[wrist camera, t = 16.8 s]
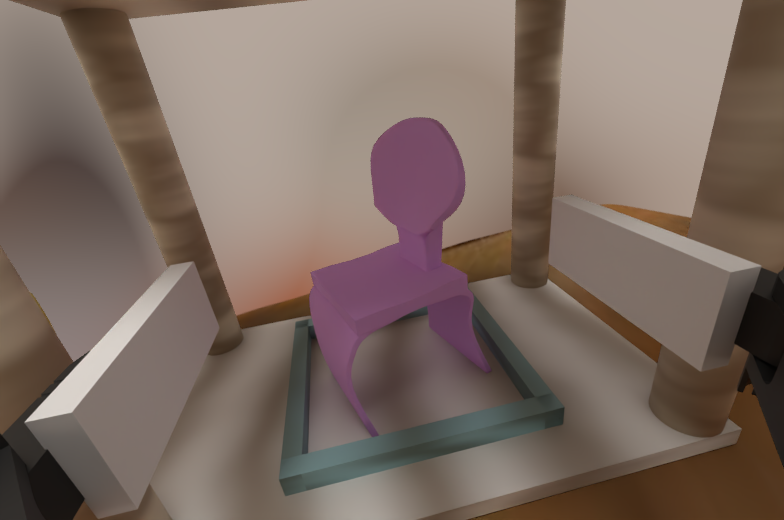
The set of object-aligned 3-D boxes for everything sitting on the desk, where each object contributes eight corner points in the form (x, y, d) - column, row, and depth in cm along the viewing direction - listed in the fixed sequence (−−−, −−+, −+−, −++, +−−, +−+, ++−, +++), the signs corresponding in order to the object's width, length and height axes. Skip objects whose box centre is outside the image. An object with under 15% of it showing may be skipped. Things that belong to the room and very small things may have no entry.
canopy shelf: (535, 279, 34) (551, -64, 23) (736, 443, 17) (1091, -445, 7) (213, 345, 30) (63, -20, 20) (92, 625, 14) (-1066, -554, 4)
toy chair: (319, 367, 25) (258, 138, 18) (425, 319, 28) (404, 114, 22) (373, 459, 18) (306, 148, 12) (504, 381, 22) (506, 110, 15)
